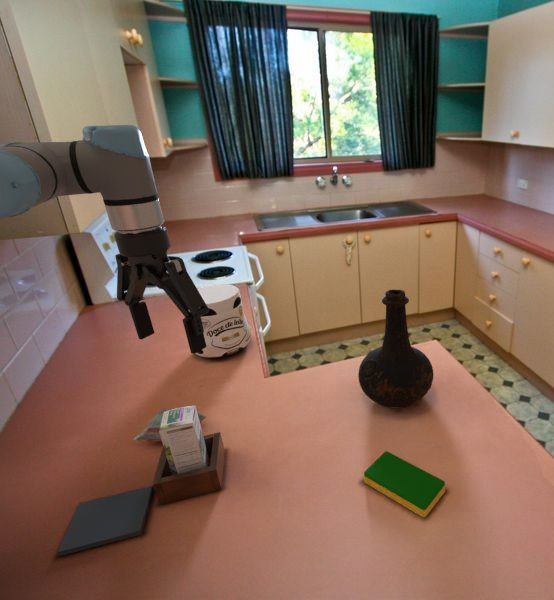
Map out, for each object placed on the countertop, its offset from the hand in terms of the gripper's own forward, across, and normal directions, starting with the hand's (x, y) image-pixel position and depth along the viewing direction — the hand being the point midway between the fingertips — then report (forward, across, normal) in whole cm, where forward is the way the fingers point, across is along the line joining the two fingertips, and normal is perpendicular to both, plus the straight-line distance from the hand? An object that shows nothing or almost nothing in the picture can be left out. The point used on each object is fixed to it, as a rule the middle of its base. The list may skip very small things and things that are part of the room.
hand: (172, 342), depth 77 cm
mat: (+27, +3, +18) cm, 32 cm away
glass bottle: (+27, -28, -34) cm, 52 cm away
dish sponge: (+27, -41, -9) cm, 50 cm away
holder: (+27, -3, +5) cm, 27 cm away
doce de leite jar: (+27, +31, -35) cm, 54 cm away
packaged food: (+27, +11, -2) cm, 29 cm away
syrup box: (+27, -3, +5) cm, 28 cm away
